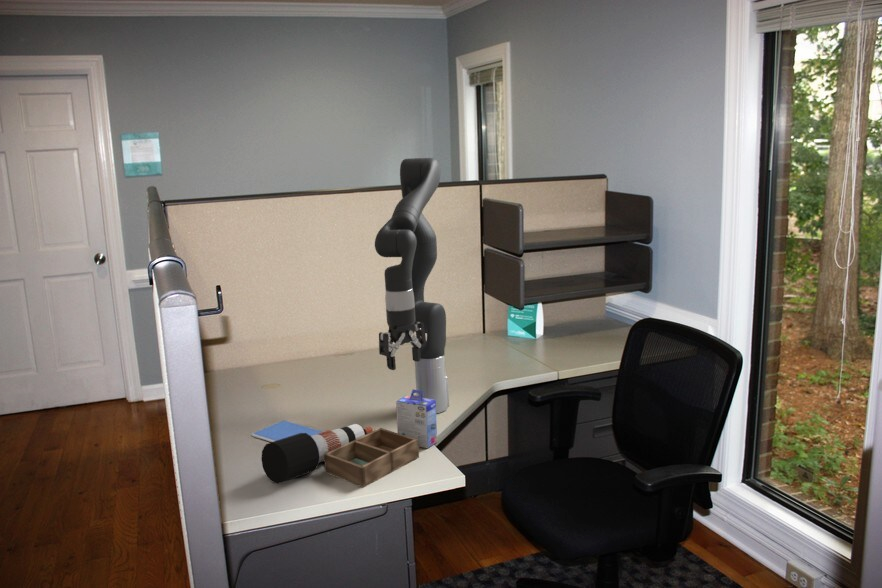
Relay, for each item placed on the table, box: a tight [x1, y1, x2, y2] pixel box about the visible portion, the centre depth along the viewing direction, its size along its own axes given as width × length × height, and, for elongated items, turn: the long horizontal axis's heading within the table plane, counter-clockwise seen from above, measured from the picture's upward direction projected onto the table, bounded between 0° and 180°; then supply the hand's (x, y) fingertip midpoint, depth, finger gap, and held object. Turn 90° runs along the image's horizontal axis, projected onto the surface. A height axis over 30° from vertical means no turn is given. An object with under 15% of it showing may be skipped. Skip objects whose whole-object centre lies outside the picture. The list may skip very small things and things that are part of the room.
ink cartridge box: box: [395, 389, 438, 449], centre depth 197 cm, size 10×6×14 cm, turn 61°
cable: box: [260, 423, 374, 484], centre depth 189 cm, size 10×34×10 cm, turn 140°
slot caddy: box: [324, 427, 420, 488], centre depth 185 cm, size 20×14×5 cm
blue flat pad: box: [251, 420, 324, 443], centre depth 207 cm, size 19×13×1 cm, turn 52°
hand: (404, 365), depth 193 cm, fingers open, 8 cm apart
